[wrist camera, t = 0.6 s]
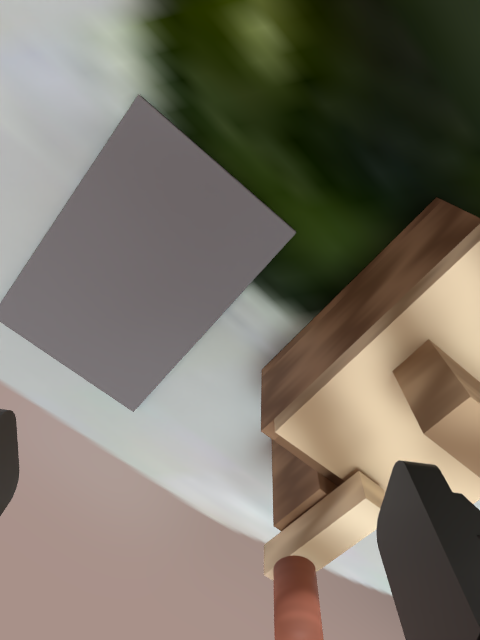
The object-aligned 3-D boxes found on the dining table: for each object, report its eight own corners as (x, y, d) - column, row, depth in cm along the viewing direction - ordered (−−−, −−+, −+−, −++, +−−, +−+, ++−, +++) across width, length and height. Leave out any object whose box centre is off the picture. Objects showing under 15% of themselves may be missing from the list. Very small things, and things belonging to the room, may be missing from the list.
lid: (505, 199, 21) (595, 231, 15) (657, 351, 23) (782, 426, 18) (274, 418, 26) (276, 502, 21) (418, 521, 29) (455, 620, 23)
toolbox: (436, 197, 28) (502, 229, 20) (557, 317, 30) (656, 386, 23) (226, 404, 34) (216, 487, 27) (340, 487, 37) (360, 583, 30)
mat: (139, 95, 26) (138, 94, 26) (295, 231, 29) (296, 232, 28) (-6, 313, 32) (-9, 316, 32) (134, 408, 35) (133, 411, 35)
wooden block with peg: (356, 468, 26) (381, 565, 20) (385, 491, 26) (418, 591, 21) (261, 543, 28) (260, 647, 23) (290, 562, 29) (296, 667, 23)
